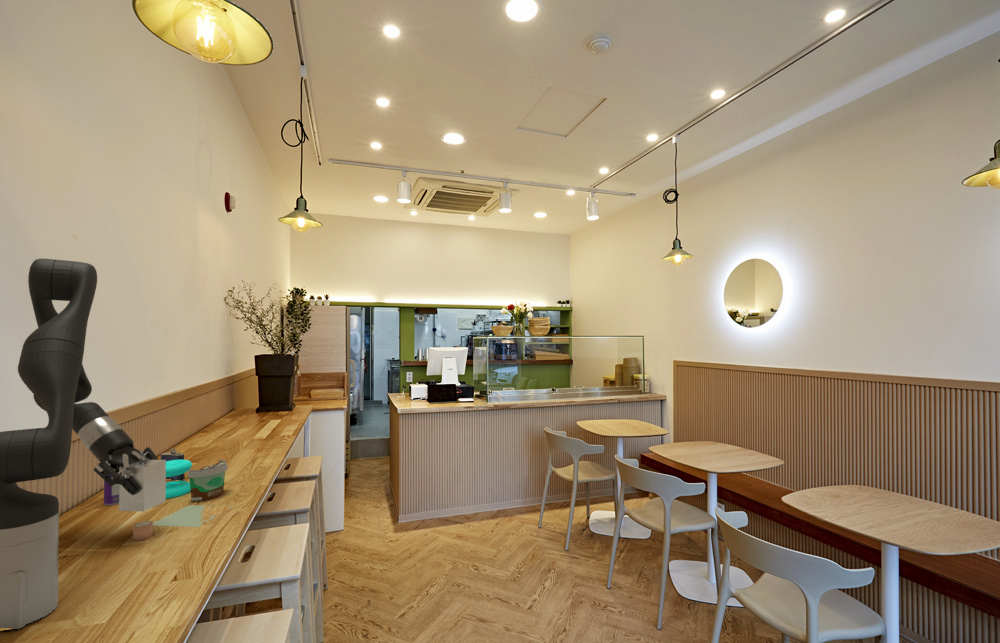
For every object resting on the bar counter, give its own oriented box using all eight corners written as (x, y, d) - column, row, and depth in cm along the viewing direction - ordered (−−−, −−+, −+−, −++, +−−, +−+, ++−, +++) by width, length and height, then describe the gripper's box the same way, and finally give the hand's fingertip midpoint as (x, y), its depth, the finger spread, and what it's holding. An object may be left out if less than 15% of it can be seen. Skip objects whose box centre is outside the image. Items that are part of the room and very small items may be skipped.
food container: (204, 506, 133) (205, 471, 134) (187, 504, 135) (187, 470, 135) (237, 491, 146) (237, 460, 146) (220, 490, 147) (220, 459, 147)
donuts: (199, 459, 148) (172, 468, 138) (199, 490, 148) (172, 501, 138) (173, 457, 150) (144, 466, 140) (173, 488, 149) (144, 499, 139)
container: (100, 504, 136) (101, 453, 136) (119, 499, 140) (119, 450, 141) (108, 506, 134) (108, 455, 134) (127, 501, 138) (127, 451, 138)
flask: (158, 480, 158) (158, 448, 159) (166, 477, 161) (166, 446, 162) (179, 481, 156) (180, 450, 157) (187, 479, 159) (187, 448, 159)
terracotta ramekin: (147, 541, 111) (147, 526, 111) (129, 542, 110) (129, 527, 111) (155, 534, 115) (156, 520, 115) (138, 535, 114) (139, 521, 114)
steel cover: (143, 511, 109) (144, 462, 110) (119, 510, 110) (119, 462, 110) (165, 501, 116) (165, 455, 116) (142, 500, 116) (142, 454, 117)
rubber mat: (198, 528, 118) (198, 526, 118) (147, 527, 119) (147, 525, 119) (234, 507, 132) (234, 506, 132) (188, 506, 133) (188, 505, 133)
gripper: (87, 435, 107) (134, 486, 106) (140, 422, 121) (182, 467, 120) (66, 457, 107) (112, 509, 106) (122, 442, 121) (163, 487, 120)
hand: (149, 487), depth 113 cm, fingers closed on steel cover, 6 cm apart
